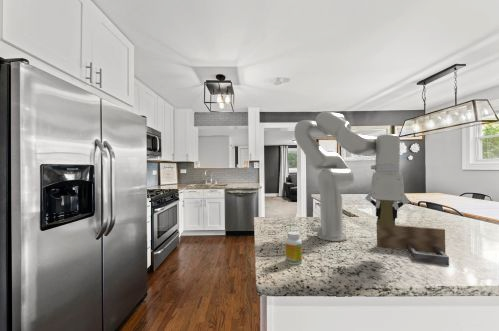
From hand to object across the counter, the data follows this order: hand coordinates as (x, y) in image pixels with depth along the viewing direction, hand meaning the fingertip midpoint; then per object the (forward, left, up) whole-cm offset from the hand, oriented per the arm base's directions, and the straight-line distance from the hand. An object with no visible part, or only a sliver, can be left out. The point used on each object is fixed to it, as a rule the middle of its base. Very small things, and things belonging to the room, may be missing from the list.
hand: (386, 218), depth 86 cm
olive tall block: (0, 0, -3) cm, 3 cm away
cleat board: (+9, +5, -13) cm, 16 cm away
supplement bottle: (-29, -19, -13) cm, 38 cm away
